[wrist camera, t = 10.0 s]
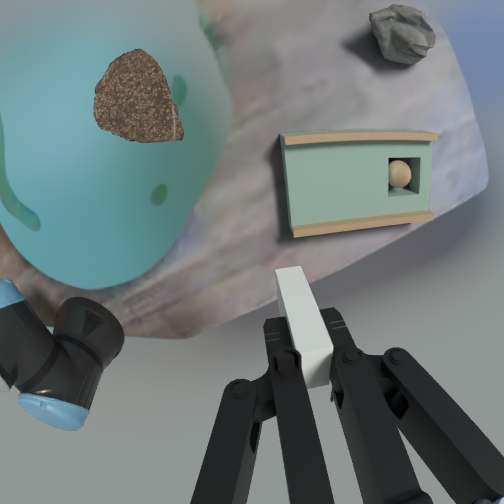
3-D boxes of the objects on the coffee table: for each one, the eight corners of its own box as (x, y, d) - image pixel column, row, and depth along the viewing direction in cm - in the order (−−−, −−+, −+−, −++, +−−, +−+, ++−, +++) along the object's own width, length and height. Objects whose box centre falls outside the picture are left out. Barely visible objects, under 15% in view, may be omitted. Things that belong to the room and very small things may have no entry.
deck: (288, 224, 41) (294, 237, 37) (279, 133, 35) (284, 136, 31) (418, 209, 40) (433, 219, 36) (420, 130, 34) (437, 134, 30)
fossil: (361, 63, 30) (388, 55, 23) (348, 7, 26) (371, -11, 19) (424, 67, 29) (457, 64, 22) (412, 16, 25) (442, 5, 18)
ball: (380, 183, 38) (391, 191, 35) (380, 157, 36) (392, 163, 33) (402, 183, 38) (415, 190, 35) (403, 157, 36) (416, 163, 33)
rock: (210, 121, 29) (140, 176, 26) (173, 128, 37) (118, 172, 34) (157, 33, 22) (74, 81, 19) (130, 60, 29) (68, 101, 26)
